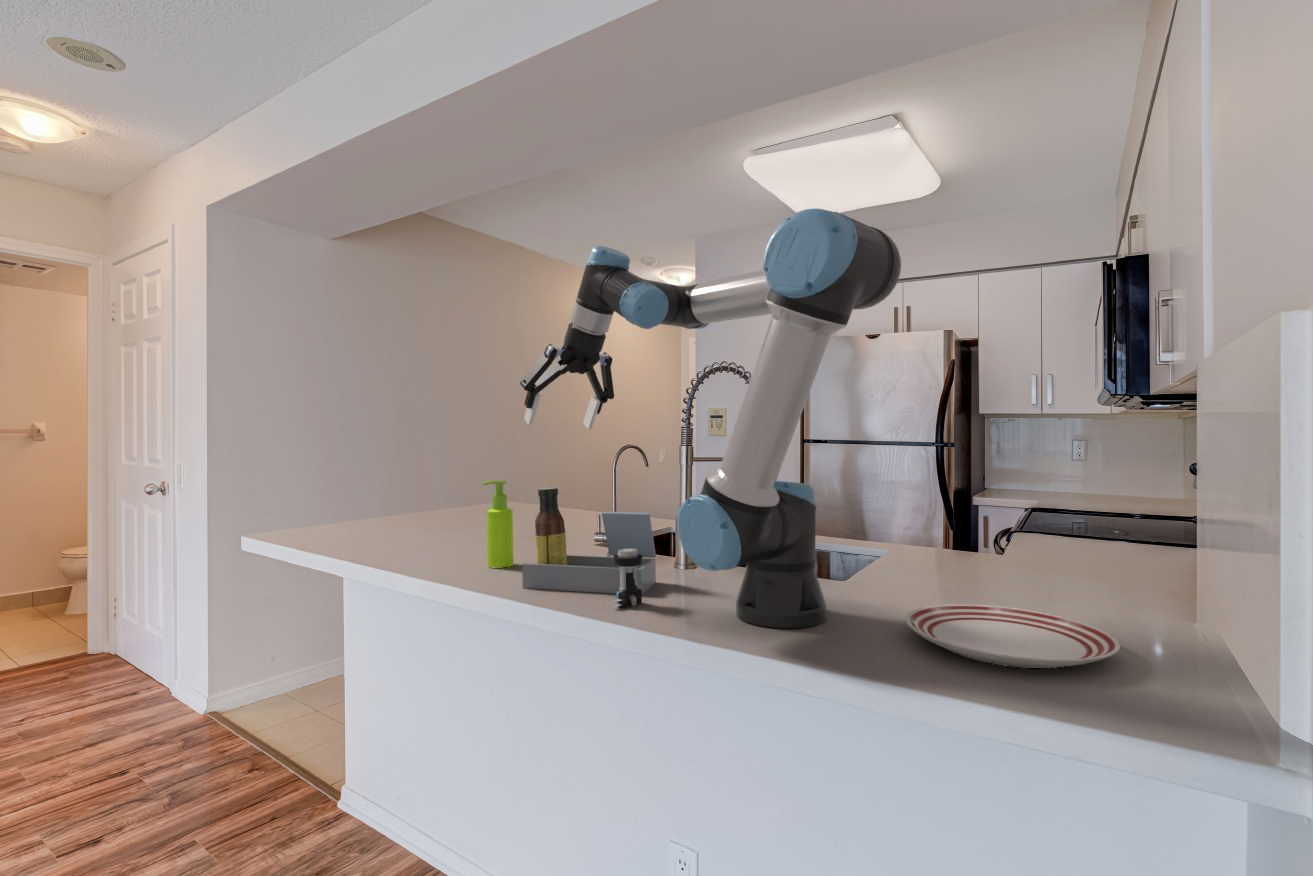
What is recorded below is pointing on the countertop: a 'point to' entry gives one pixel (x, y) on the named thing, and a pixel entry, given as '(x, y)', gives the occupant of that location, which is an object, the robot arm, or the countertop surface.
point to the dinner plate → (1012, 635)
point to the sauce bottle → (550, 529)
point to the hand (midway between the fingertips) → (558, 424)
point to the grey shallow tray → (585, 575)
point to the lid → (629, 532)
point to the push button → (628, 578)
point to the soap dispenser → (499, 529)
